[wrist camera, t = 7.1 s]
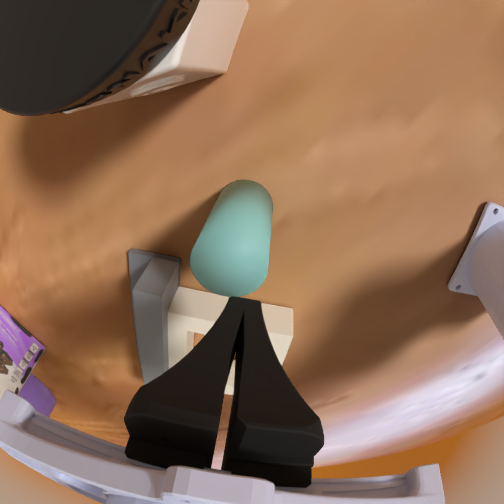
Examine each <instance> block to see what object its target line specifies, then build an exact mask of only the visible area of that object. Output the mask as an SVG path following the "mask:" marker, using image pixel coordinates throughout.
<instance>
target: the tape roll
mask: <svg viewBox="0 0 504 504" xmlns="http://www.w3.org/2000/svg"><path fill="white" fill-rule="evenodd" d="M19 396H21V397H23V398H24V399H26V400H27V401H29V402H30V403H31V405H32V406H33V408H34V410H35V411H37V412H39V413H41V414H43V415H45V416H48V417H49V416H50V414H51V412H52V410H53V408H54V406H55V404H56V399H55V397H54V396H53V394H52V393H51V392H50V390H49V389H48V388H47V387H46V386H45V385H44V384H43V383H42V382H41V381H40V380H39V379H37V378H36V377H35V376H34V375H32V374H30V376H29V377H28V379H27V381H26V382H25V384H24V386H23V388H22V389H21V391H20V393H19Z"/></svg>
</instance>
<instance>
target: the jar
mask: <svg viewBox="0 0 504 504" xmlns="http://www.w3.org/2000/svg"><path fill="white" fill-rule="evenodd" d="M248 9H249V3H248V1H247V0H0V109H2V110H4V111H6V112H9V113H12V114H15V115H21V116H38V115H45V114H54V113H57V112H59V113H61V112H64V113H66V114H69V113H73V112H76V111H80V110H83V109H87V108H91V107H95V106H99V105H103V104H107V103H111V102H115V101H120V100H125V99H129V98H134V97H139V96H144V95H150V94H155V93H159V92H162V91H165V90H168V89H171V88H174V87H177V86H181V85H184V84H187V83H191V82H194V81H197V80H201V79H205V78H208V77H212V76H216V75H220V74H224V73H225V72H226V71H227V69H228V66H229V63H230V60H231V57H232V54H233V51H234V48H235V45H236V42H237V39H238V36H239V33H240V31H241V28H242V25H243V22H244V19H245V17H246V14H247V11H248Z"/></svg>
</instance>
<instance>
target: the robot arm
mask: <svg viewBox="0 0 504 504" xmlns="http://www.w3.org/2000/svg"><path fill="white" fill-rule="evenodd" d="M494 209H495V211H494ZM493 211H494V212H493ZM458 285H459V286H458ZM448 288H449V290H450V291H454V292H459V293H464V294H469V295H474V296H478V298H479V299H480V301H481V302H482V304H483V306H484V307H485V309H486V310H487V312H488V314H489V315H490V317H491V319H492V320H493V322H494V324H495V325H496V327H497V329H498V330H499V332H500V334H501V336H502V337H503V339H504V207H502V206H500V205H498V204H496V203H493V202H488V203H487V204H486V205H485V208H484V210H483V212H482V215H481V217H480V219H479V222H478V224H477V226H476V229H475V231H474V233H473V235H472V237H471V240H470V242H469V244H468V246H467V248H466V250H465V252H464V254H463V256H462V258H461V260H460V262H459V264H458V266H457V268H456V270H455V272H454V274H453V276H452V277H451V279H450V281H449V283H448ZM235 352H236V358H235V375H234V392H233V401H232V407H231V414H230V420H229V426H228V432H227V438H226V444H225V450H224V456H223V462H222V467H221V470H217V469H212V468H211V465H212V459H213V454H214V449H215V444H216V438H217V433H218V428H219V422H220V416H221V410H222V404H223V398H224V392H225V388H226V384H227V381H228V377H229V374H230V370H231V366H232V363H233V359H234V356H235ZM124 422H125V425H126V427H127V430H128V432H129V435H130V437H129V440H128V443H127V446H126V447H123V446H120V445H117V444H114V443H111V442H108V441H106V440H103V439H100V438H97V437H95V436H92V435H89V434H87V433H84V432H82V431H79V430H77V429H75V428H72V427H70V426H67V425H65V424H63V423H61V422H58V421H56V420H54V419H52V418H50V417H48V416H45V415H43V414H41V413H39V412H37V411H35V410H34V408H33V406H32V405H31V403H30V402H29V401H27V400H26V399H24V398H23V397H21V396H19V395H17V394H15V393H13V392H12V391H10V390H6V391H5V393H4V394H3V396H2V398H1V400H0V447H1V448H2V449H3V450H5V451H6V452H7V453H8V454H9V455H10V456H12V457H14V458H15V459H17V460H19V461H20V462H22V463H24V464H25V465H27V466H29V467H30V468H32V469H34V470H36V471H38V472H39V473H41V474H43V475H44V476H46V477H48V478H50V479H52V480H54V481H56V482H58V483H59V484H61V485H64V486H65V487H67V488H69V489H72V490H74V491H76V492H78V493H80V494H82V495H84V496H86V497H89V498H91V499H93V500H96V501H98V502H100V503H103V504H445V499H444V492H443V486H442V481H441V475H440V470H439V465H438V464H437V463H435V464H429V465H422V466H417V467H414V468H412V469H410V470H409V471H408V472H407V473H406V474H398V475H389V476H379V477H365V478H343V479H313V478H311V467H313V465H314V456H315V455H316V454H317V453H318V452H319V450H320V449H321V448H322V447H323V445H324V434H323V429H322V425H321V421H320V418H319V417H318V416H317V415H316V414H315V413H314V411H313V410H312V409H311V408H310V407H309V406H308V405H307V403H306V402H305V401H304V400H303V398H302V397H301V396H300V394H299V393H298V392H297V390H296V389H295V387H294V386H293V384H292V383H291V381H290V380H289V378H288V376H287V375H286V373H285V371H284V369H283V367H282V366H281V364H280V362H279V360H278V358H277V355H276V353H275V351H274V348H273V346H272V343H271V341H270V338H269V335H268V332H267V329H266V325H265V321H264V317H263V312H262V305H261V302H260V301H257V300H251V299H246V298H240V297H235V296H231V297H229V299H228V302H227V304H226V306H225V308H224V309H223V311H222V313H221V314H220V316H219V317H218V319H217V320H216V322H215V323H214V325H213V326H212V327H211V329H210V330H209V331H208V332H207V334H206V335H205V336H204V337H203V338H202V340H201V341H200V342H199V343H198V344H197V345H196V346H195V347H194V348H193V349H192V350H191V351H190V352H189V353H188V354H187V355H186V356H185V357H183V358H182V359H181V360H180V361H179V362H178V363H176V364H175V365H174V366H173V367H171V368H170V369H168V370H167V371H166V372H164V373H163V374H161V375H160V376H158V377H157V378H155V379H154V380H152V381H150V382H149V383H147V384H145V385H143V386H142V387H140V389H139V390H138V391H137V393H136V394H135V396H134V397H133V399H132V401H131V402H130V404H129V406H128V409H127V412H126V414H125V417H124Z"/></svg>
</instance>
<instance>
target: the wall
mask: <svg viewBox="0 0 504 504" xmlns="http://www.w3.org/2000/svg"><path fill="white" fill-rule="evenodd" d="M128 255H129V272H130V285H131V297H132V308H133V317H134V326H135V334H136V342H137V350H138V357H139V363H140V366H141V367H142V374H143V380H144V385H145V384H147V383H149V382H150V381H152V380H154V379H155V378H157V377H158V376H160V375H161V374H163V373H164V372H166V371H167V370H168V369H169V358H168V310H169V307H170V305H171V303H172V301H173V298H174V296H175V294H176V291H177V289H178V287H179V284H180V263H181V258H177V257H172V256H167V255H162V254H157V253H152V252H148V251H143V250H138V249H133V248H131V249H130V251H129V252H128Z"/></svg>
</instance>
